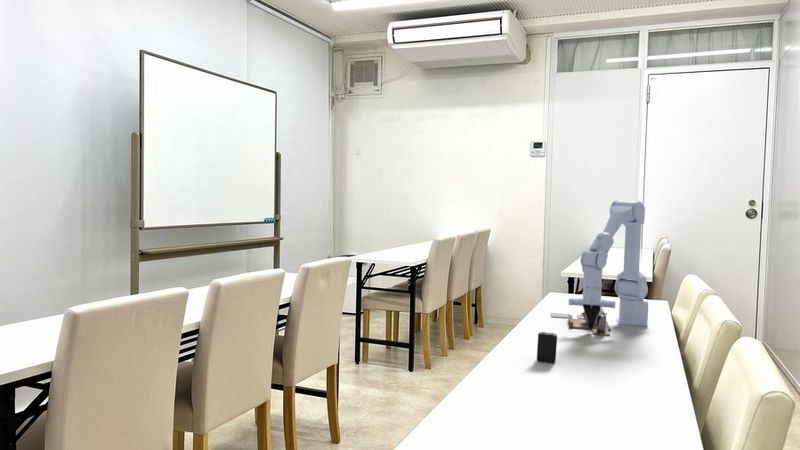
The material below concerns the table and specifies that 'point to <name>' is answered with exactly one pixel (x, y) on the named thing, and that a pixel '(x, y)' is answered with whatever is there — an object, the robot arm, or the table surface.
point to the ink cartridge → (546, 347)
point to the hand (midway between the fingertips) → (590, 328)
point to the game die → (596, 317)
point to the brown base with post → (598, 329)
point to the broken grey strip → (564, 316)
